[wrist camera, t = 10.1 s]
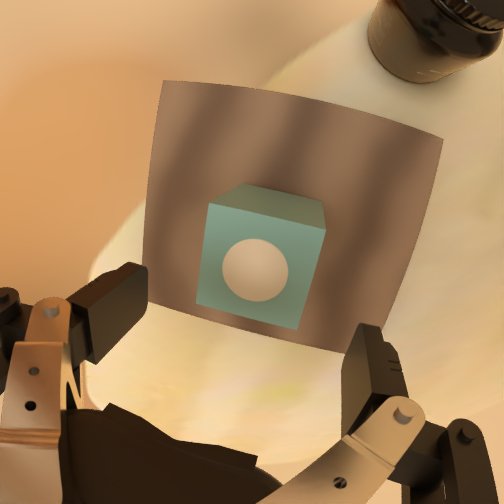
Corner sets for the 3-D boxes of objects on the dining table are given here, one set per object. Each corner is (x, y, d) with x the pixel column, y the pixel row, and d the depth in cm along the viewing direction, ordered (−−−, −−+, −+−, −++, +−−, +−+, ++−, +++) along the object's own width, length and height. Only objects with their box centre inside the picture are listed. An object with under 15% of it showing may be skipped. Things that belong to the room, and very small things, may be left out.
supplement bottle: (424, 102, 18) (515, 76, 7) (349, 45, 18) (378, -38, 7) (462, 45, 16) (548, -2, 4) (392, -9, 15) (435, -95, 4)
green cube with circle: (322, 201, 19) (326, 231, 13) (303, 274, 21) (296, 332, 15) (242, 183, 20) (207, 203, 13) (229, 256, 22) (194, 305, 15)
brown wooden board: (433, 139, 19) (493, 140, 11) (365, 344, 25) (377, 418, 17) (174, 84, 21) (108, 63, 13) (151, 289, 28) (98, 341, 20)
